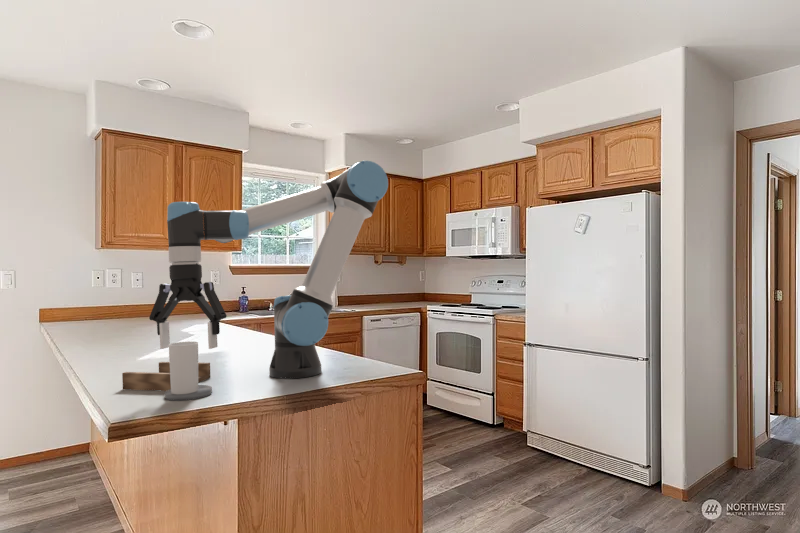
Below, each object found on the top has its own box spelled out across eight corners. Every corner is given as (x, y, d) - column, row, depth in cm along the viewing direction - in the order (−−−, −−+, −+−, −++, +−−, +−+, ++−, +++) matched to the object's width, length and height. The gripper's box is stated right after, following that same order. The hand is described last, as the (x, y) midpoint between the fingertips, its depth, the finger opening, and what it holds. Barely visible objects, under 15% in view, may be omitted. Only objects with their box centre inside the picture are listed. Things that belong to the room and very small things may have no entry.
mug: (194, 394, 124) (193, 345, 124) (165, 395, 123) (164, 346, 123) (206, 384, 134) (205, 339, 134) (180, 385, 133) (179, 340, 133)
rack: (210, 377, 148) (210, 362, 148) (175, 391, 133) (175, 374, 133) (162, 376, 152) (161, 361, 152) (122, 389, 136) (122, 373, 136)
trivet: (220, 390, 133) (220, 385, 133) (195, 401, 122) (194, 396, 122) (183, 388, 135) (183, 384, 135) (154, 399, 124) (154, 395, 124)
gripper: (238, 261, 130) (241, 345, 130) (152, 265, 135) (155, 345, 135) (221, 262, 122) (225, 350, 122) (131, 265, 127) (135, 350, 128)
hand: (188, 348), depth 129 cm, fingers open, 13 cm apart
